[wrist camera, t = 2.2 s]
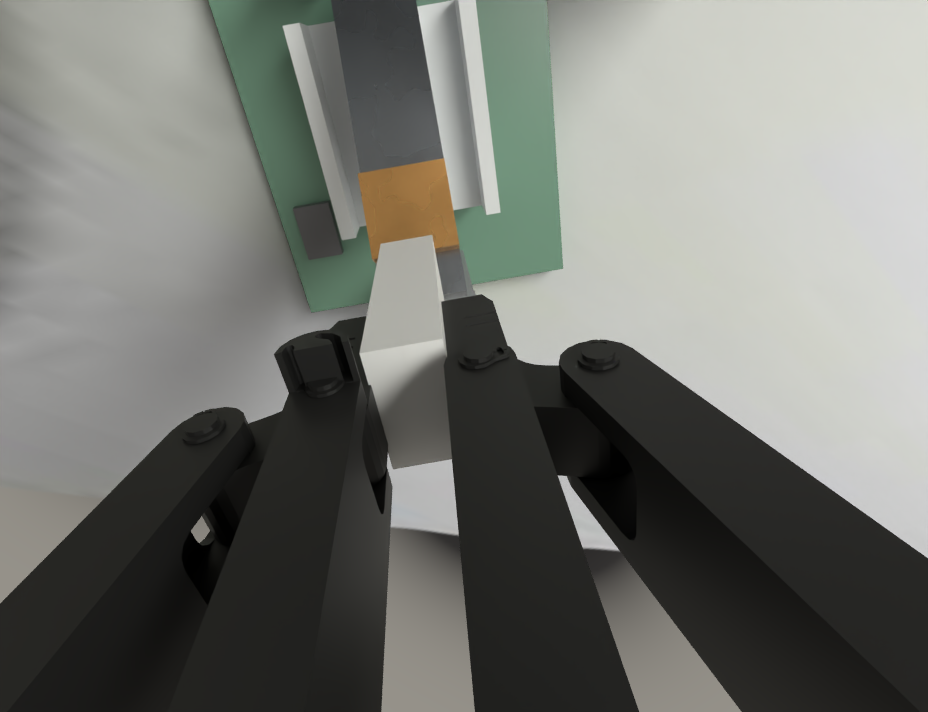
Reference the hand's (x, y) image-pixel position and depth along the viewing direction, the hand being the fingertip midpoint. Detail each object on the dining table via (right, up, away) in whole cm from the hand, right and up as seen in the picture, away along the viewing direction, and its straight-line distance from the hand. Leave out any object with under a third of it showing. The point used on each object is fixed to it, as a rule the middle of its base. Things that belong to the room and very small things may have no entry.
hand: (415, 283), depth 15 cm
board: (-2, +11, +13) cm, 17 cm away
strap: (-1, +7, +4) cm, 8 cm away
